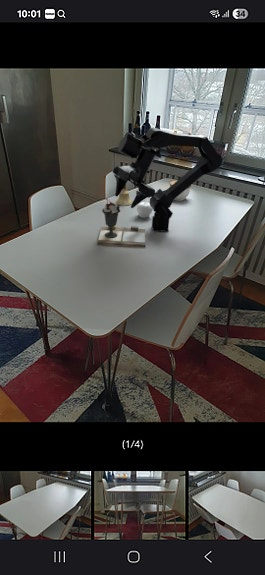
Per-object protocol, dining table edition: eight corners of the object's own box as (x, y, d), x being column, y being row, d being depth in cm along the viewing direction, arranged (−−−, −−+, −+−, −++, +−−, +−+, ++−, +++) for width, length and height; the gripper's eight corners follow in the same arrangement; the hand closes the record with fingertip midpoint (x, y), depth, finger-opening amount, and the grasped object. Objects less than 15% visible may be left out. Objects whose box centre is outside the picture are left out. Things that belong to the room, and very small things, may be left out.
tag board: (145, 231, 130) (145, 226, 129) (145, 247, 119) (145, 241, 117) (101, 228, 130) (101, 223, 129) (97, 244, 119) (97, 239, 117)
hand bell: (112, 203, 155) (112, 169, 146) (121, 198, 161) (122, 166, 152) (127, 207, 152) (128, 173, 143) (135, 202, 158) (137, 169, 149)
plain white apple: (133, 215, 143) (134, 198, 139) (145, 212, 147) (146, 195, 143) (143, 220, 139) (144, 203, 134) (155, 217, 143) (156, 200, 138)
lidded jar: (164, 196, 167) (166, 178, 162) (180, 194, 171) (183, 176, 166) (175, 203, 159) (178, 184, 154) (192, 200, 164) (195, 182, 158)
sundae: (99, 236, 121) (98, 198, 113) (107, 230, 126) (107, 193, 118) (114, 240, 119) (115, 202, 110) (122, 234, 124) (123, 196, 116)
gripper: (112, 147, 113) (94, 186, 120) (147, 170, 105) (126, 211, 112) (130, 155, 122) (113, 191, 129) (164, 177, 114) (144, 215, 121)
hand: (123, 202), depth 122 cm, fingers open, 9 cm apart
